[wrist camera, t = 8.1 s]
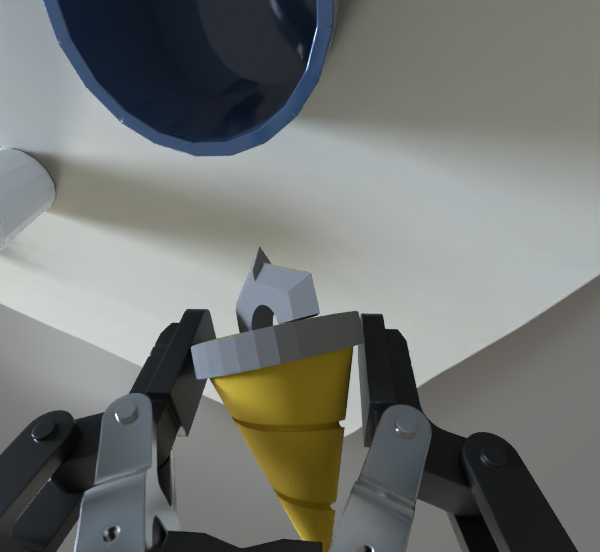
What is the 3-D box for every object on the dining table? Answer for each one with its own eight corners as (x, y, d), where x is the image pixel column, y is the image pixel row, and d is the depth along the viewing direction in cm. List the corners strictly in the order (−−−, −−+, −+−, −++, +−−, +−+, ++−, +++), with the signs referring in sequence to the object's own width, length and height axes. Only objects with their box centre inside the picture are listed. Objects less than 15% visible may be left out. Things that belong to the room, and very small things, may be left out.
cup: (172, 114, 27) (100, 158, 19) (115, -122, 20) (-37, -211, 12) (336, 109, 26) (333, 153, 18) (338, -147, 19) (335, -264, 11)
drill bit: (371, 218, 12) (458, 556, 10) (282, 265, 16) (333, 510, 14) (216, 210, 9) (308, 708, 7) (155, 272, 13) (203, 591, 11)
